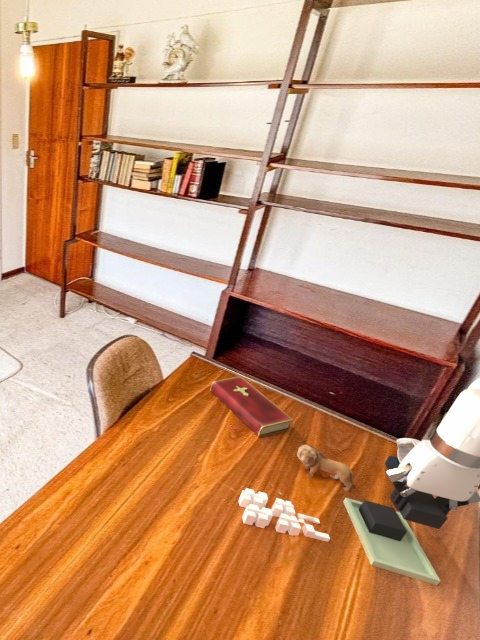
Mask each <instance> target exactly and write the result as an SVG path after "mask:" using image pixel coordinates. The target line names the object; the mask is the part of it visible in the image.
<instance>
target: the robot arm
mask: <svg viewBox="0 0 480 640" xmlns="http://www.w3.org/2000/svg"><path fill="white" fill-rule="evenodd" d="M420 441H421V442H420V443H419V444H417V445H416V446H415V447H414V448H413V449H412V450H411V451H410V450H409V453H408V454H407V455H406V457H405V458H404V459H403V460H402V462H401V463H400V465H399V466H398V468H395V469H391V470H388V469H387V470H385V471H384V473H385V475H386V477H387V478H388V480H389V481H390V482H391V484H392V485H393V486H394V488H396V489H395V490H394V492H393V493H392V495H391V496H390V497H389V499H390V501H391V503H392V504H393V506H394V509H395V510H396V511H397V512H399V511H402V509H403V508H404V506H405V505H406V504H407V502H408V501H409V497H408V496H409V495H411V494H412V493H414V492H416V491H421V492H425V493H429V494H432V495H433V496H436V497H434V498H435V500H436V502H437V503H438V504H439V506H440V507H441V509H442V510H443V512H444V513H445V515H446V516H447V515H449V513H450V511H451V510H452V511H456V510H458V507H463V506H468V505H469V504H474V503H479V502H480V494H479V493H478V491H477V490H478V488H479V487H480V377H479V378H477V379H475V380H474V381H473V382H472V383H471V384H470V385H469V386H468V387H467V388H466V389H464V390H463V391H461V392H460V393H459V395H458V396H457V397H456V398H455V401H453V403H452V405H451V406H450V408H449V409H448V411H447V412H446V413H445V415H444V417H443V419H442V420H441V422H440V423H439V424H438V426H437V428H436V429H435V431H434V432H433V434H432V435H431V437H429V439H422V440H420ZM402 477H403V478H402ZM404 486H407V488H404Z"/></svg>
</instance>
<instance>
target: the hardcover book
mask: <svg viewBox="0 0 480 640" xmlns="http://www.w3.org/2000/svg"><path fill="white" fill-rule="evenodd" d="M209 387H210V388H209V390H210V392H212V394H213V395H214V396H215V397H217V398H218V399H219V400H220V401H221V402H222V403H223V404H224V405H225V406H226V407H227V408H228V409H229V410H230V411H231V412H232V413H233V414H234V415H236V417H238V419H240V421H242V422H243V423H244V424H245V425H246V426H247V427H248V428H249V429H250V430H251V431H252V432H253V433H254V434H255V435H256V436H257V437H259V438H260V437H261V438H262V437H265V436H270V435H274V434H277V433H282V432H286V431H290V430H291V428H290V427H289V426H290V424H291V422H294V418H292V417H291V416H290V415H288V413H286V412H285V411H283V409H282V408H280V407H278V405H277V404H275V403H274V402H273V401H271V400H270V399H269V398H268V397H267V396H266V395H264V394H263V393H262V392H261V391H260V390H258V388H256V387H255V386H254V385H252V384H251V383H249V381H247V380H246V379H245V378H244V377H242V376H241V375H240V376H235V377H229V378H224V379H218V380H213V381H212V382H211V384H210V386H209Z"/></svg>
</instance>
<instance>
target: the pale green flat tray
mask: <svg viewBox="0 0 480 640" xmlns="http://www.w3.org/2000/svg"><path fill="white" fill-rule="evenodd" d="M362 503H363V501H361V500H360V501H359V500H356V499H352V498H349V497H345V498H344V499H343V505H344V507H345V509H346V512H347V514H348V516H349V519H350V521H351V523H352V526H353V527H354V530H355V532H356V534H357V537H358V539H359V541H360V543H361V546H362V548H363V550H364V553H365V555H366V557H367V559H368V562H369V565H370V566H372V567H376V568H379V569H383V570H386V571H389V572H391V573H395V574H398V575H402V576H404V577H409V578H412V579H414V580H418V581H421V582H424V583H428V584H430V585H434V586H438V585H439V584H440V583H441V578H440V577H439V576H438V573H437V572H436V570H435V569H434V567H433V564H432V563H431V561H430V560H429V557H427V555H426V553H425V551H424V549H423V547H422V546H421V544H420V542H419V541H418V539H417V537H416V535H415V534H414V531H413V530H412V528H411V527H410V525H409V523H408V520H405V519H403V517H402V515H401V513H400V512H399V511H396V513H397V514H398V516H399V518H400V520H401V522H402V523H403V525H404V527H405V529H406V531H407V533H406V534H405V536H404V537H403V538H402V540H401V541H397V540H394V539H390V538H387V537H383V536H380V535H376V534H373V533H369V531H368V529H367V527H366V524H365V522H364V520H363V518H362V516H361V514H360V512H359V508H360V506H361V505H362Z"/></svg>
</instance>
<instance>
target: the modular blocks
mask: <svg viewBox="0 0 480 640" xmlns="http://www.w3.org/2000/svg"><path fill="white" fill-rule="evenodd" d="M268 501H269V497H268V494H267V493H266V492H264V491H263V492H262V491H258V492H257V493H255V489H251V488H248V487H245V489H242V491H241V493H240V496H239V498H238V504H239V507H241V508H243V509H244V511H243V514H242V517H241V518H242V522H243V524H245V525H249V526H253V524H254V525H255V527H257V528H261V529H265V527H269V526H270V523H271V521H272V519H273V517H276V518H278V519H277V520H276V521H275V522H276V524H275V526H274V529H275V532H276V533H280V534H284V535H285V534H286V533H288V536H291V537H295V536H299V534H300V533H301V531H302V533H303V536H304V537H306V538H311V539H315V540H319V541H323V542H326V543H329V542H330V541H331V537H330V535H329V534H328V533H325V532H321V531H318V530H315V528H314V525H313V524H309V523H306V522H310V523H314V524H317V525H320V524H321V522H320V519H319V518H317V517H314V516H311V515H307V514H303V513H300V512H297V513H296V510H295V505H293V504H292V501H289V500H284V499H282V498H279V497H275V501H274V503H273V504H272V506H271V508H268V507H266V506H267V503H268ZM296 515H297V516H296ZM305 521H306V522H305ZM300 523H301V524H303V526H301V524H300Z"/></svg>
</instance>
